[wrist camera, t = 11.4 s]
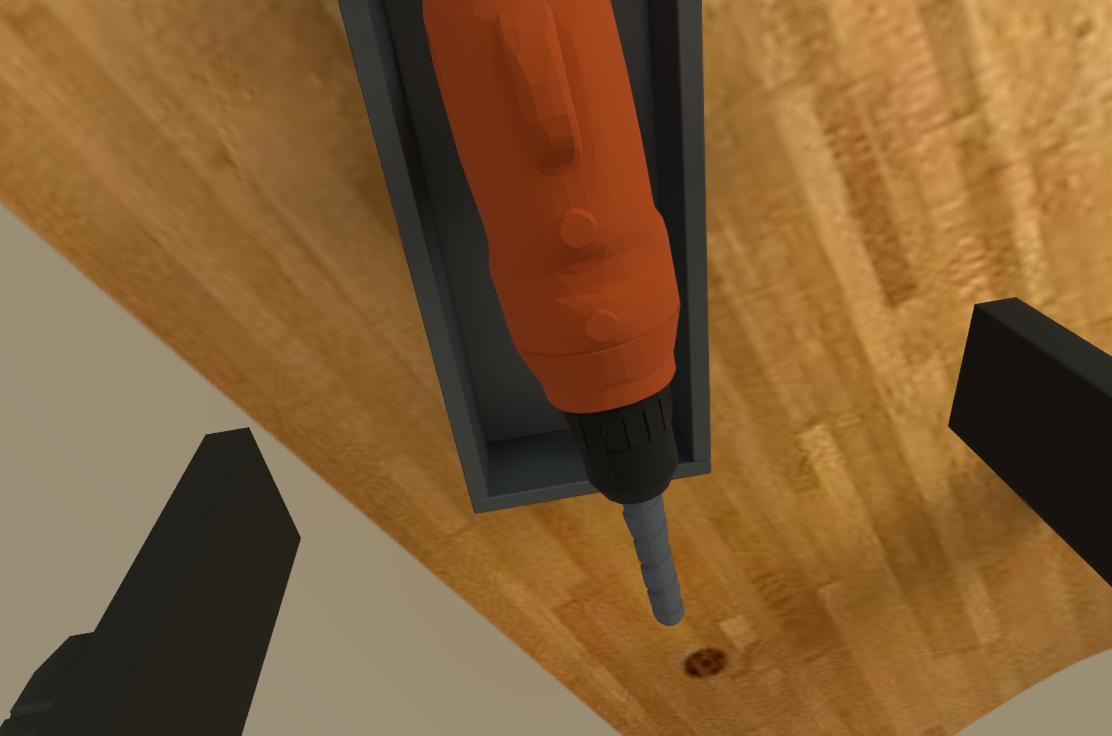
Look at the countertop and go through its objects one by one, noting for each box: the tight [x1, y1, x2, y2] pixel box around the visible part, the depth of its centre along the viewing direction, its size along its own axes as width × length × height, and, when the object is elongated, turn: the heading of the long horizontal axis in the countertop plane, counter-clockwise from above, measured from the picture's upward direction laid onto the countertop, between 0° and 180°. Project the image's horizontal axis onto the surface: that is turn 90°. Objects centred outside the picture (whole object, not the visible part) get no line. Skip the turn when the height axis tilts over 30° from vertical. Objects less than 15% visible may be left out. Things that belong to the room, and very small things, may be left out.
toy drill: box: [423, 0, 684, 626], centre depth 20 cm, size 5×19×15 cm, turn 14°
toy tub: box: [338, 0, 711, 514], centre depth 25 cm, size 25×11×5 cm, turn 8°
